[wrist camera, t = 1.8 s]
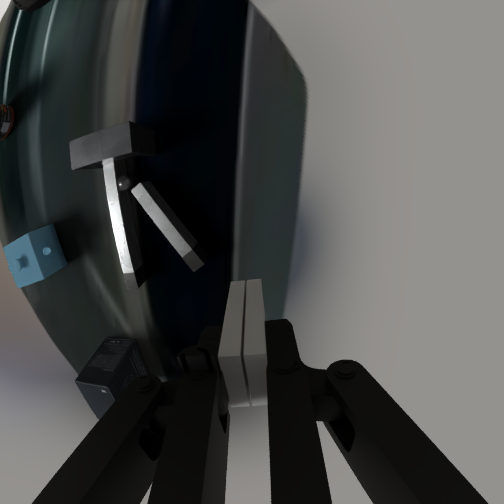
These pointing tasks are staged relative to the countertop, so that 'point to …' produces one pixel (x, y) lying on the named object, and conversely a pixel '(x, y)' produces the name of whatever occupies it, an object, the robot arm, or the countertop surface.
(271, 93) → the countertop surface
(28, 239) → the blue teapot
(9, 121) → the supplement bottle
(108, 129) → the collar
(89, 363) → the box
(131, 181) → the tongs fixed
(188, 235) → the tongs jaw
